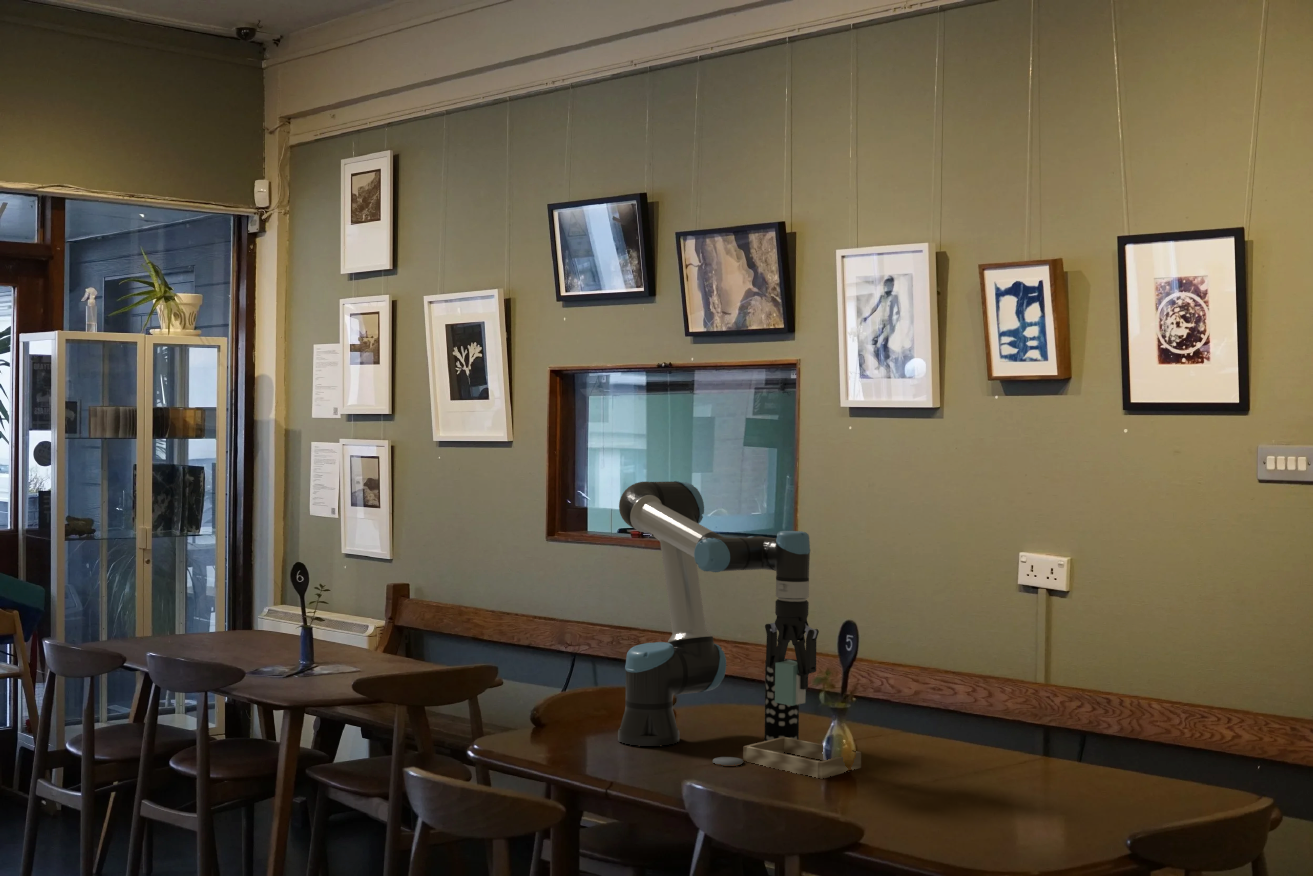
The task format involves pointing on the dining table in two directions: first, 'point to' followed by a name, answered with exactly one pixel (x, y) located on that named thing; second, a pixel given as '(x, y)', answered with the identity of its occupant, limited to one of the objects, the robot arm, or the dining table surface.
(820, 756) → the tray
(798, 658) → the robot arm
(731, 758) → the coaster
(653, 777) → the dining table surface
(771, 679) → the white-spotted black cylinder
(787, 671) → the block
